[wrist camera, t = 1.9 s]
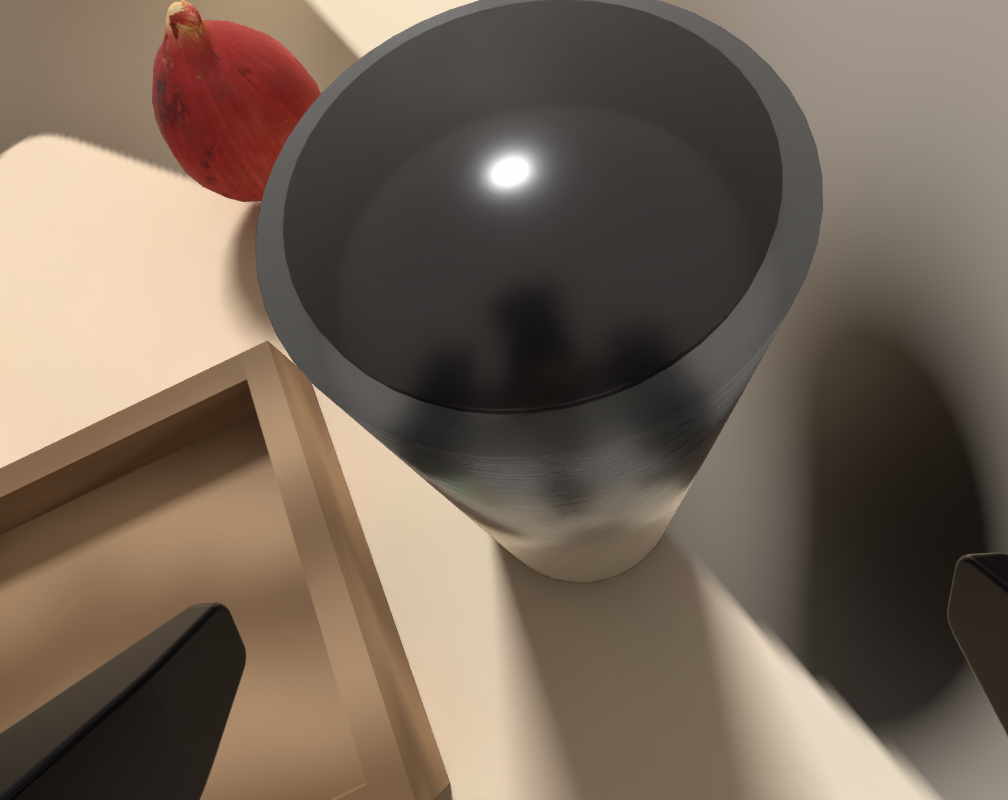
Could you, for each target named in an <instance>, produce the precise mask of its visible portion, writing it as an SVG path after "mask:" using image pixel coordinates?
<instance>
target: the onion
mask: <svg viewBox="0 0 1008 800" xmlns="http://www.w3.org/2000/svg"><path fill="white" fill-rule="evenodd" d="M152 94H153V96H152V103H153V108H154V114H155V119H156V121H157V124H158V126H159V129H160V132H161V134H162V136H163V138H164V139H165V141H166V143H167V144H168V146H169V148H170V149H171V151H172V153H173V155H174V156H175V157H176V159H177V160H178V162H179V163H180V165H181V166H182V167H183V169H184V171H185V172H186V173H187V174H188V175H189V176H191V177H192V178H193V179H194V180H195V181H197V182H198V183H199V184H200V185H202V186H203V187H205V188H207V189H209V190H211V191H213V192H216V193H218V194H220V195H222V196H224V197H227V198H230V199H234V200H238V201H242V202H251V201H262V198H263V193H264V190H265V188H266V185H267V182H268V179H269V177H270V174H271V171H272V168H273V166H274V164H275V162H276V160H277V158H278V156H279V154H280V152H281V150H282V148H283V146H284V144H285V142H286V140H287V139H288V137H289V136H290V134H291V133H292V131H293V130H294V128H295V127H296V125H297V124H298V122H299V121H300V119H301V118H302V116H303V115H304V114H305V113H306V111H307V110H308V109H309V108H310V107H311V105H312V104H313V103H314V102H315V101H316V99H317V98H318V97H319V96H320V95H321V93H320V91H319V88H318V86H317V84H316V82H315V81H314V80H313V78H312V77H311V76H310V74H309V73H308V72H307V70H306V69H305V68H304V67H303V66H302V64H301V63H300V62H299V61H298V60H297V59H296V58H295V57H294V56H293V55H292V53H291V52H290V51H288V50H287V49H286V48H285V47H284V46H283V45H282V44H281V43H280V42H279V41H277V40H275V39H274V38H272V37H270V36H269V35H267V34H265V33H262V32H260V31H257V30H254V29H251V28H248V27H245V26H243V25H240V24H236V23H233V22H229V21H209V20H208V21H207V20H203V19H202V18H201V17H200V14H199V12H198V11H197V10H196V9H195V7H193V6H192V5H191V4H189V3H188V2H186V1H184V0H183V1H181V2H175V3H173V4H171V6H170V7H169V9H168V12H167V17H166V29H165V37H164V40H163V43H162V45H161V46H160V48H159V50H158V52H157V55H156V57H155V62H154V69H153V93H152Z"/></svg>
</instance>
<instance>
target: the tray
mask: <svg viewBox="0 0 1008 800" xmlns="http://www.w3.org/2000/svg"><path fill="white" fill-rule="evenodd" d="M203 603H222V604H224V605H226V606H227V607H228V608H229V610H230V612H231V614H232V617H233V619H234V621H235V624H236V626H237V628H238V631H239V633H240V636H241V638H242V640H243V643H244V645H245V648H246V664H245V669H244V672H243V675H242V678H241V681H240V684H239V687H238V690H237V693H236V696H235V699H234V702H233V706H232V709H231V712H230V715H229V718H228V721H227V724H226V727H225V730H224V733H223V736H222V739H221V742H220V745H219V749H218V752H217V755H216V758H215V761H214V764H213V767H212V769H211V772H210V775H209V778H208V781H207V783H206V786H205V789H204V791H203V794H202V796H201V799H200V800H433V799H434V798H435V797H437V796H438V795H439V794H440V793H441V792H442V791H443V790H444V789H445V788H446V787H447V786H448V785H449V784H450V782H449V779H448V776H447V773H446V770H445V767H444V765H443V762H442V759H441V756H440V753H439V750H438V747H437V744H436V741H435V739H434V736H433V733H432V730H431V727H430V724H429V721H428V718H427V715H426V713H425V710H424V707H423V704H422V701H421V698H420V695H419V692H418V689H417V687H416V684H415V681H414V678H413V675H412V672H411V669H410V666H409V663H408V661H407V658H406V655H405V652H404V649H403V646H402V643H401V640H400V637H399V635H398V632H397V629H396V626H395V623H394V620H393V617H392V614H391V611H390V609H389V606H388V603H387V600H386V597H385V594H384V591H383V588H382V585H381V583H380V580H379V577H378V574H377V571H376V568H375V565H374V562H373V559H372V557H371V554H370V551H369V548H368V545H367V542H366V539H365V536H364V533H363V531H362V528H361V525H360V522H359V519H358V516H357V513H356V510H355V507H354V505H353V502H352V499H351V496H350V493H349V490H348V487H347V484H346V481H345V479H344V476H343V473H342V470H341V467H340V464H339V461H338V458H337V455H336V453H335V450H334V447H333V444H332V441H331V438H330V435H329V432H328V429H327V427H326V424H325V421H324V418H323V415H322V412H321V409H320V406H319V403H318V401H317V398H316V395H315V392H314V389H313V386H312V383H311V381H310V380H309V379H308V378H307V377H306V375H305V374H304V373H303V372H302V371H301V370H300V369H299V368H298V367H297V366H296V365H295V364H294V363H293V362H291V361H290V360H289V359H288V358H287V357H286V356H284V355H283V354H282V353H281V352H280V351H279V350H278V349H276V348H275V347H274V346H273V345H272V344H271V343H269V342H268V341H266V342H264V343H262V344H259V345H257V346H255V347H253V348H251V349H249V350H247V351H245V352H243V353H241V354H239V355H236V356H234V357H232V358H230V359H228V360H226V361H224V362H222V363H220V364H218V365H216V366H213V367H211V368H209V369H207V370H205V371H203V372H201V373H199V374H197V375H195V376H193V377H191V378H188V379H186V380H184V381H182V382H180V383H178V384H176V385H174V386H172V387H170V388H168V389H165V390H163V391H161V392H159V393H157V394H155V395H153V396H151V397H149V398H147V399H145V400H142V401H140V402H138V403H136V404H134V405H132V406H130V407H128V408H126V409H124V410H122V411H120V412H117V413H115V414H113V415H111V416H109V417H107V418H105V419H103V420H101V421H99V422H97V423H94V424H92V425H90V426H88V427H86V428H84V429H82V430H80V431H78V432H76V433H74V434H71V435H69V436H67V437H65V438H63V439H61V440H59V441H57V442H55V443H53V444H51V445H48V446H46V447H44V448H42V449H40V450H38V451H36V452H34V453H32V454H30V455H28V456H26V457H23V458H21V459H19V460H17V461H15V462H13V463H11V464H9V465H7V466H5V467H3V468H0V733H1V732H3V731H4V730H6V729H7V728H9V727H10V726H12V725H13V724H15V723H16V722H18V721H19V720H21V719H22V718H24V717H25V716H27V715H28V714H30V713H31V712H33V711H34V710H36V709H37V708H39V707H40V706H42V705H43V704H45V703H46V702H48V701H49V700H51V699H52V698H54V697H55V696H57V695H58V694H60V693H61V692H63V691H64V690H65V689H67V688H68V687H70V686H71V685H73V684H74V683H76V682H77V681H79V680H80V679H82V678H83V677H85V676H86V675H88V674H89V673H91V672H92V671H94V670H95V669H97V668H98V667H100V666H101V665H103V664H104V663H106V662H107V661H109V660H110V659H112V658H113V657H115V656H116V655H118V654H119V653H121V652H122V651H124V650H125V649H127V648H128V647H130V646H131V645H133V644H134V643H136V642H137V641H139V640H140V639H142V638H143V637H144V636H146V635H147V634H149V633H150V632H152V631H153V630H155V629H156V628H158V627H159V626H161V625H162V624H164V623H165V622H167V621H168V620H170V619H171V618H173V617H174V616H176V615H177V614H179V613H180V612H182V611H183V610H185V609H186V608H188V607H190V606H192V605H195V604H203Z"/></svg>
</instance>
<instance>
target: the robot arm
mask: <svg viewBox="0 0 1008 800" xmlns="http://www.w3.org/2000/svg"><path fill="white" fill-rule="evenodd" d="M948 620H949V624H950V627H951V630H952V632H953V634H954V636H955V638H956V640H957V642H958V644H959V646H960V648H961V650H962V651H963V653H964V655H965V657H966V659H967V661H968V663H969V665H970V667H971V668H972V670H973V672H974V674H975V676H976V678H977V680H978V682H979V684H980V685H981V687H982V689H983V691H984V693H985V695H986V697H987V699H988V701H989V703H990V704H991V706H992V708H993V710H994V712H995V714H996V716H997V718H998V720H999V721H1000V723H1001V725H1002V727H1003V729H1004V731H1005V733H1006V735H1007V737H1008V555H1007V554H1003V553H983V554H968V555H965V556H962V557H961V558H960V559H959V560H958V561H957V564H956V567H955V572H954V578H953V583H952V588H951V594H950V599H949V604H948ZM245 664H246V648H245V645H244V643H243V640H242V638H241V636H240V633H239V631H238V628H237V626H236V624H235V621H234V619H233V617H232V614H231V612H230V610H229V608H228V607H227V606H226V605H224V604H222V603H203V604H195V605H192V606H190V607H188V608H186V609H185V610H183V611H182V612H180V613H179V614H177V615H176V616H174V617H173V618H171V619H170V620H168V621H167V622H165V623H164V624H162V625H161V626H159V627H158V628H156V629H155V630H153V631H152V632H150V633H149V634H147V635H146V636H144V637H143V638H142V639H140V640H139V641H137V642H136V643H134V644H133V645H131V646H130V647H128V648H127V649H125V650H124V651H122V652H121V653H119V654H118V655H116V656H115V657H113V658H112V659H110V660H109V661H107V662H106V663H104V664H103V665H101V666H100V667H98V668H97V669H95V670H94V671H92V672H91V673H89V674H88V675H86V676H85V677H83V678H82V679H80V680H79V681H77V682H76V683H74V684H73V685H71V686H70V687H68V688H67V689H65V690H64V691H63V692H61V693H60V694H58V695H57V696H55V697H54V698H52V699H51V700H49V701H48V702H46V703H45V704H43V705H42V706H40V707H39V708H37V709H36V710H34V711H33V712H31V713H30V714H28V715H27V716H25V717H24V718H22V719H21V720H19V721H18V722H16V723H15V724H13V725H12V726H10V727H9V728H7V729H6V730H4V731H3V732H1V733H0V800H200V799H201V796H202V794H203V791H204V789H205V786H206V783H207V781H208V778H209V775H210V772H211V769H212V767H213V764H214V761H215V758H216V755H217V752H218V749H219V745H220V742H221V739H222V736H223V733H224V730H225V727H226V724H227V721H228V718H229V715H230V712H231V709H232V706H233V702H234V699H235V696H236V693H237V690H238V687H239V684H240V681H241V678H242V675H243V672H244V669H245Z"/></svg>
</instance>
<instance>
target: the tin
mask: <svg viewBox="0 0 1008 800" xmlns="http://www.w3.org/2000/svg"><path fill="white" fill-rule="evenodd" d="M822 211H823V197H822V173H821V168H820V163H819V158H818V153H817V148H816V144H815V141H814V139H813V136H812V133H811V131H810V128H809V125H808V123H807V120H806V118H805V115H804V114H803V112H802V110H801V108H800V107H799V105H798V103H797V102H796V100H795V98H794V96H793V95H792V93H791V91H790V89H789V88H788V87H787V86H786V85H785V83H784V82H783V81H782V80H781V78H780V77H779V76H778V75H777V74H776V72H775V71H774V70H773V69H772V67H771V66H770V65H769V64H768V63H767V62H765V61H764V60H763V59H762V58H761V57H760V56H759V55H758V54H757V53H756V52H755V51H753V50H752V49H751V48H750V47H749V46H748V45H747V44H745V43H744V42H742V41H741V40H739V39H738V38H736V37H735V36H734V35H732V34H731V33H729V32H728V31H726V30H725V29H723V28H722V27H720V26H718V25H716V24H714V23H712V22H710V21H708V20H707V19H705V18H703V17H701V16H699V15H697V14H695V13H692V12H690V11H687V10H684V9H682V8H679V7H677V6H674V5H671V4H669V3H666V2H662V1H658V0H479V1H476V2H473V3H470V4H467V5H464V6H460V7H457V8H454V9H451V10H448V11H446V12H443V13H441V14H439V15H436V16H434V17H431V18H429V19H427V20H424V21H422V22H420V23H418V24H416V25H414V26H412V27H410V28H408V29H406V30H405V31H403V32H401V33H399V34H397V35H395V36H393V37H392V38H390V39H388V40H387V41H385V42H384V43H382V44H381V45H379V46H378V47H376V48H375V49H373V50H372V51H370V52H368V53H367V54H366V55H364V56H363V57H362V58H361V59H359V60H358V61H357V62H356V63H354V64H353V65H352V66H351V67H349V68H348V69H347V70H346V71H344V72H343V73H342V74H341V75H340V76H339V77H338V78H337V79H336V80H335V81H334V82H333V83H332V84H331V85H330V86H329V87H328V88H327V89H326V90H325V91H324V92H322V93H321V95H320V96H319V97H318V98H317V99H316V101H315V102H314V103H313V104H312V105H311V107H310V108H309V109H308V110H307V111H306V113H305V114H304V115H303V116H302V118H301V119H300V121H299V122H298V124H297V125H296V127H295V128H294V130H293V131H292V133H291V134H290V136H289V137H288V139H287V140H286V142H285V144H284V146H283V148H282V150H281V152H280V154H279V156H278V158H277V160H276V162H275V164H274V166H273V168H272V171H271V174H270V177H269V179H268V182H267V185H266V188H265V190H264V193H263V198H262V203H261V207H260V212H259V216H258V221H257V235H256V249H255V250H256V262H257V275H258V281H259V285H260V290H261V294H262V298H263V302H264V306H265V309H266V311H267V314H268V316H269V318H270V321H271V323H272V325H273V328H274V330H275V333H276V335H277V337H278V338H279V340H280V341H281V343H282V344H283V346H284V348H285V349H286V351H287V352H288V354H289V356H290V357H291V359H292V360H293V362H294V363H295V364H296V365H297V366H298V368H299V369H300V370H301V371H302V372H303V373H304V374H305V375H306V377H307V378H308V379H309V380H310V381H311V382H312V383H313V384H314V386H315V387H317V388H318V389H319V390H320V391H321V392H322V393H324V394H325V395H326V396H327V397H328V398H329V399H331V400H332V401H333V402H334V403H335V404H337V405H338V406H339V407H340V408H341V409H342V410H344V411H345V412H346V413H347V414H348V415H349V416H351V417H352V418H353V419H354V420H355V421H356V422H358V423H359V424H360V425H361V426H362V427H364V428H365V429H366V430H367V431H368V432H369V433H371V434H372V435H373V436H374V437H375V438H376V439H378V440H379V441H380V442H381V443H382V444H383V445H385V446H386V447H387V448H388V449H389V450H391V451H392V452H393V453H394V454H395V455H396V456H398V457H399V458H400V459H401V460H402V461H403V462H405V463H406V464H407V465H408V466H409V467H410V468H412V469H413V470H414V471H415V472H416V473H418V474H419V475H420V476H421V477H422V478H423V479H425V480H426V481H427V482H428V483H429V484H430V485H432V486H433V487H434V488H435V489H436V490H438V491H439V492H440V493H441V494H442V495H443V496H445V497H446V498H447V499H448V500H449V501H450V502H452V503H453V504H454V505H455V506H456V507H457V508H459V509H460V510H461V511H462V512H463V513H465V514H466V515H467V516H468V517H469V518H470V519H472V520H473V521H474V522H475V523H476V524H477V525H479V526H480V527H481V528H482V529H483V530H484V531H486V532H487V533H488V534H489V535H490V536H492V537H493V538H494V539H495V540H496V541H497V542H499V543H500V544H501V545H502V546H503V547H504V548H506V549H507V550H508V551H509V552H510V553H511V554H513V555H514V556H515V557H516V558H517V559H519V560H520V561H521V562H522V563H523V564H525V565H526V566H528V567H530V568H531V569H533V570H534V571H536V572H539V573H541V574H543V575H545V576H548V577H551V578H554V579H558V580H562V581H569V582H592V581H599V580H603V579H607V578H611V577H614V576H616V575H618V574H621V573H623V572H625V571H627V570H628V569H630V568H632V567H634V566H635V565H636V564H638V563H639V562H640V561H641V560H643V559H644V558H645V557H646V556H647V555H648V554H649V553H650V552H651V551H652V550H653V549H654V547H655V546H656V544H657V543H658V542H659V540H660V539H661V537H662V535H663V534H664V532H665V530H666V528H667V527H668V525H669V523H670V521H671V519H672V518H673V516H674V514H675V512H676V511H677V509H678V507H679V505H680V503H681V502H682V500H683V498H684V496H685V494H686V493H687V491H688V489H689V487H690V486H691V484H692V482H693V480H694V479H695V477H696V475H697V473H698V471H699V470H700V468H701V466H702V464H703V462H704V461H705V459H706V457H707V455H708V453H709V452H710V450H711V448H712V446H713V444H714V443H715V441H716V439H717V438H718V436H719V434H720V432H721V430H722V429H723V427H724V425H725V423H726V422H727V420H728V418H729V416H730V414H731V413H732V411H733V409H734V407H735V405H736V404H737V402H738V400H739V398H740V397H741V395H742V393H743V391H744V390H745V388H746V386H747V384H748V382H749V381H750V379H751V377H752V375H753V374H754V372H755V370H756V368H757V366H758V365H759V363H760V361H761V359H762V357H763V356H764V354H765V352H766V350H767V349H768V347H769V345H770V343H771V341H772V340H773V338H774V336H775V334H776V333H777V331H778V329H779V327H780V325H781V324H782V322H783V320H784V318H785V317H786V315H787V313H788V311H789V309H790V307H791V305H792V304H793V302H794V300H795V298H796V296H797V294H798V292H799V290H800V288H801V286H802V285H803V283H804V281H805V279H806V276H807V273H808V270H809V267H810V264H811V261H812V258H813V255H814V252H815V249H816V246H817V243H818V237H819V230H820V224H821V217H822Z"/></svg>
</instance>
